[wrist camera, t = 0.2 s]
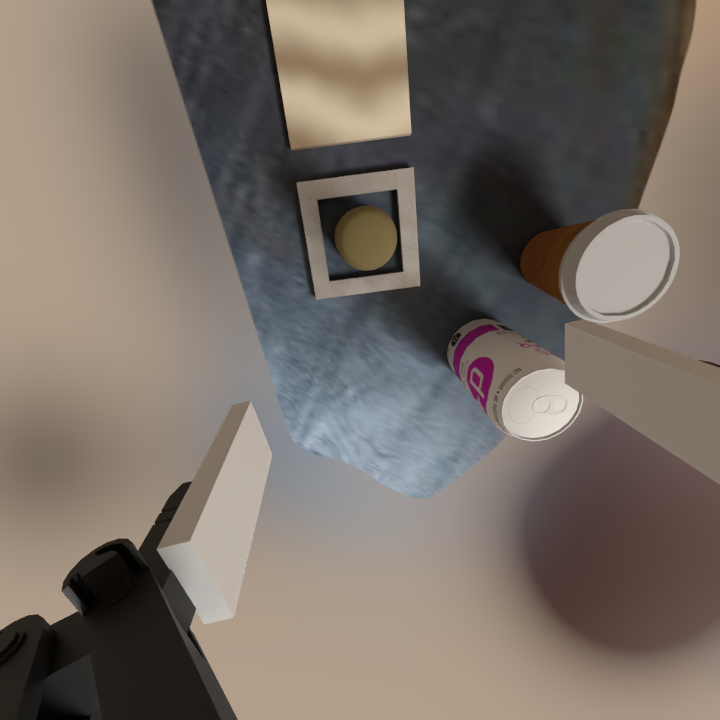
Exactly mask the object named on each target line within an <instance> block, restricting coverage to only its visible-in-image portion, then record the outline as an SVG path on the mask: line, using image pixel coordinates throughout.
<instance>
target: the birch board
mask: <svg viewBox="0 0 720 720" xmlns="http://www.w3.org/2000/svg"><path fill="white" fill-rule="evenodd" d="M266 4H267V10H268V16H269V22H270V28H271V34H272V39H273V45H274V51H275V57H276V63H277V69H278V75H279V81H280V87H281V93H282V99H283V105H284V111H285V117H286V123H287V129H288V134H289V140H290V146H291V150H292V151H295V150H302V149H310V148H318V147H325V146H333V145H341V144H348V143H356V142H363V141H371V140H379V139H386V138H394V137H402V136H409V135H410V134H411V120H410V102H409V85H408V67H407V50H406V32H405V15H404V0H266Z"/></svg>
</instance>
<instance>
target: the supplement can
mask: <svg viewBox="0 0 720 720" xmlns="http://www.w3.org/2000/svg"><path fill="white" fill-rule="evenodd" d="M447 358H448V362H449V366H450V367H451V369H452V370H453V371H454V373H455V374H456V375H457V377H458V378H459V379H460V380H461V382H462V383H463V384H464V386H465V387H466V388H467V389H468V391H469V392H470V393H471V395H472V396H473V397H474V398H475V400H476V401H477V402H478V404H479V405H480V406H481V408H482V409H483V410H484V411H485V413H486V414H487V415H488V417H489V418H490V419H491V420H492V422H493V423H494V424H495V426H496V427H497V428H498V429H499V430H501V431H503V432H505V433H506V434H508V435H510V436H515V437H518V438H520V439H521V440H528V441H539V440H546V439H549V438H551V437H554V436H556V435H558V434H560V433H562V432H563V431H564V430H565V429H567V428H568V427H569V426H570V425H571V424H572V423H573V422H574V420H575V418H576V417H577V416H578V414H579V413H580V410H581V406H582V402H583V395H582V394H581V393H579V392H578V391H576V390H574V389H573V388H571V387H570V386H568V385H567V384H565V362H564V361H563V360H561V359H560V358H558V357H556V356H555V355H553V354H551V353H550V352H548V351H546V350H545V349H543V348H541V347H540V346H538V345H536V344H534V343H533V342H531V341H529V340H528V339H526V338H524V337H523V336H521V335H519V334H518V333H516V332H514V331H513V330H511V329H509V328H508V327H506V326H504V325H502V324H501V323H499V322H497V321H495V320H490V319H479V320H473V321H471V322H469V323H467V324H465V325H464V326H462V327H461V328H460V329H459V330H458V331H457V332H456V333H455V334H454V335H453V337H452V339H451V341H450V343H449V345H448V352H447Z"/></svg>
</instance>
